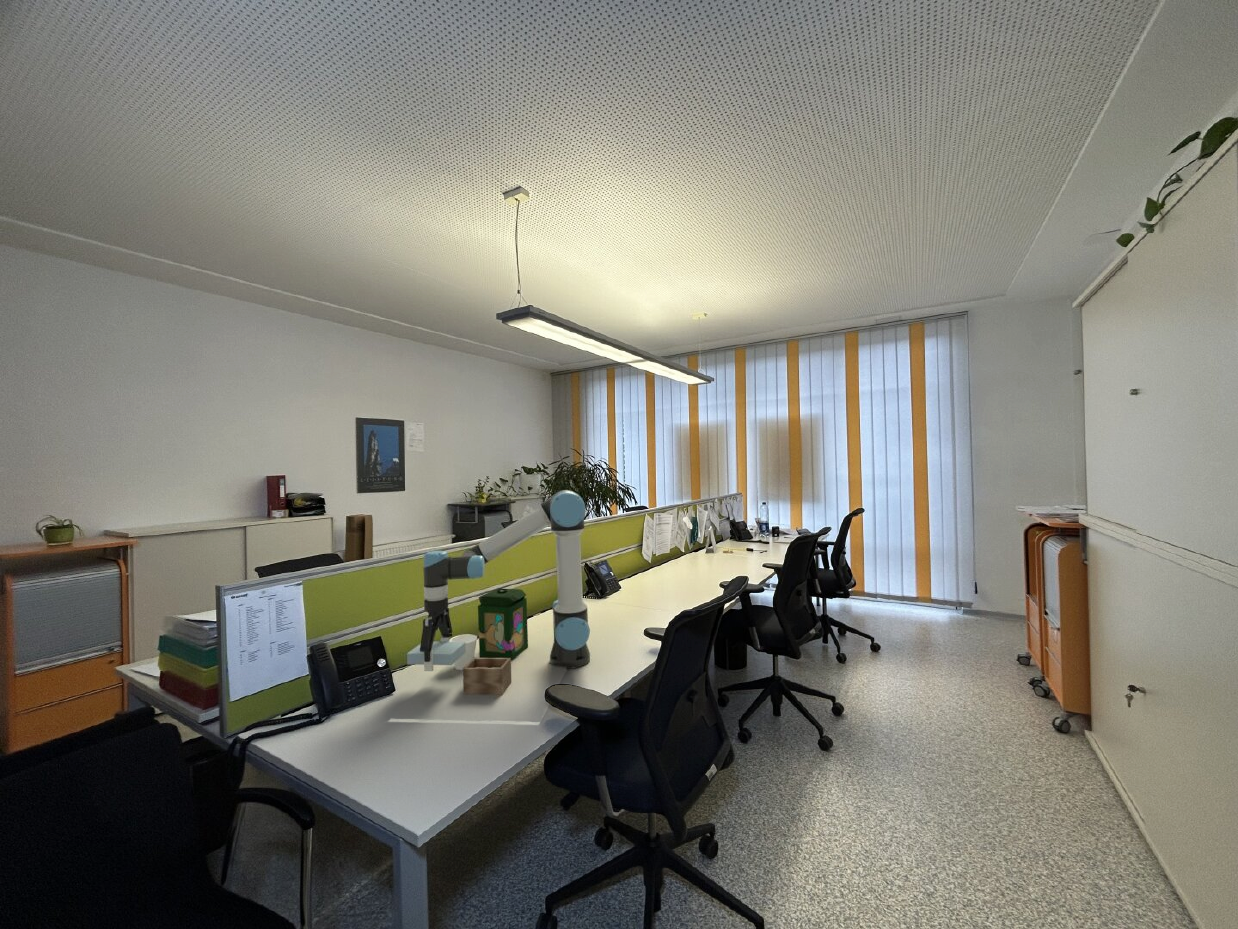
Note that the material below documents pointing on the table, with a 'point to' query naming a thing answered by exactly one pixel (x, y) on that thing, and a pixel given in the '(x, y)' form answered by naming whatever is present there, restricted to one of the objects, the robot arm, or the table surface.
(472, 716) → the table surface
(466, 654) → the cup
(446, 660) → the lid
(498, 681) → the crate
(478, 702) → the table surface
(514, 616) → the container
